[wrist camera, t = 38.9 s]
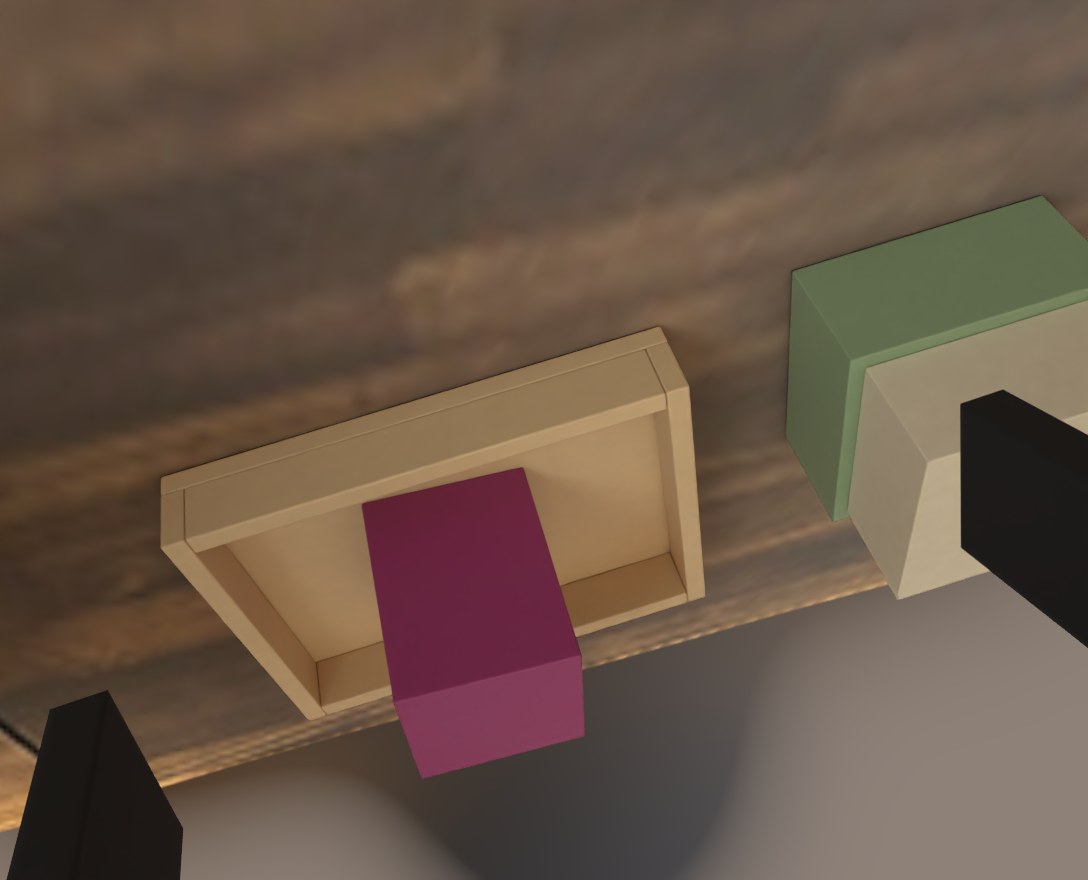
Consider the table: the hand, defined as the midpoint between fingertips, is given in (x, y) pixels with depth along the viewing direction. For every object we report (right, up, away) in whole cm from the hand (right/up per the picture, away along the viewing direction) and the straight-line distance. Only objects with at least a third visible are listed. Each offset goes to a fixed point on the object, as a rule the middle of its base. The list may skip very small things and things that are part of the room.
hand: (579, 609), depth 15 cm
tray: (-4, 0, +24) cm, 24 cm away
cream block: (+14, +3, +19) cm, 24 cm away
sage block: (+13, +7, +22) cm, 27 cm away
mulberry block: (-4, -1, +23) cm, 24 cm away
